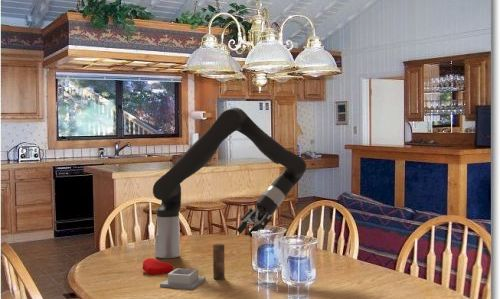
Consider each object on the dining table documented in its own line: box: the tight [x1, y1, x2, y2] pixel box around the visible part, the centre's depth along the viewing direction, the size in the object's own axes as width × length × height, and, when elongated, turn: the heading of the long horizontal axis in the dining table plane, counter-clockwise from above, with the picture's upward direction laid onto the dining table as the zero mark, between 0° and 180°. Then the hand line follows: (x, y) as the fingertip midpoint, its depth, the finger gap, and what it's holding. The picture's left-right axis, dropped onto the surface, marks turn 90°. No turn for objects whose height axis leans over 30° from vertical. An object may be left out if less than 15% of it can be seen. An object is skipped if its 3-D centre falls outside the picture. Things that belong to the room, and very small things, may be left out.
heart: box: [142, 257, 174, 276], centre depth 205 cm, size 12×4×10 cm
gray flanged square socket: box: [159, 267, 207, 290], centre depth 190 cm, size 12×12×4 cm
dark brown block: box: [212, 243, 226, 281], centre depth 196 cm, size 4×4×12 cm
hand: (243, 233), depth 200 cm, fingers open, 8 cm apart
